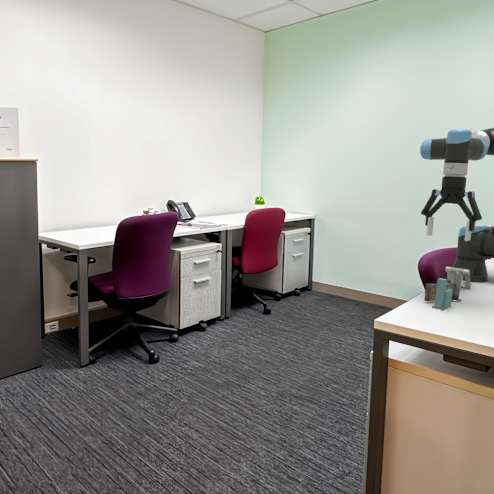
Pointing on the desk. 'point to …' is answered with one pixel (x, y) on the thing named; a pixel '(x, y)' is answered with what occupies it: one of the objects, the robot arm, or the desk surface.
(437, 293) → the stile
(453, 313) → the desk surface
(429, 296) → the gate
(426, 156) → the robot arm
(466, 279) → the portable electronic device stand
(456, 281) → the hinge post
